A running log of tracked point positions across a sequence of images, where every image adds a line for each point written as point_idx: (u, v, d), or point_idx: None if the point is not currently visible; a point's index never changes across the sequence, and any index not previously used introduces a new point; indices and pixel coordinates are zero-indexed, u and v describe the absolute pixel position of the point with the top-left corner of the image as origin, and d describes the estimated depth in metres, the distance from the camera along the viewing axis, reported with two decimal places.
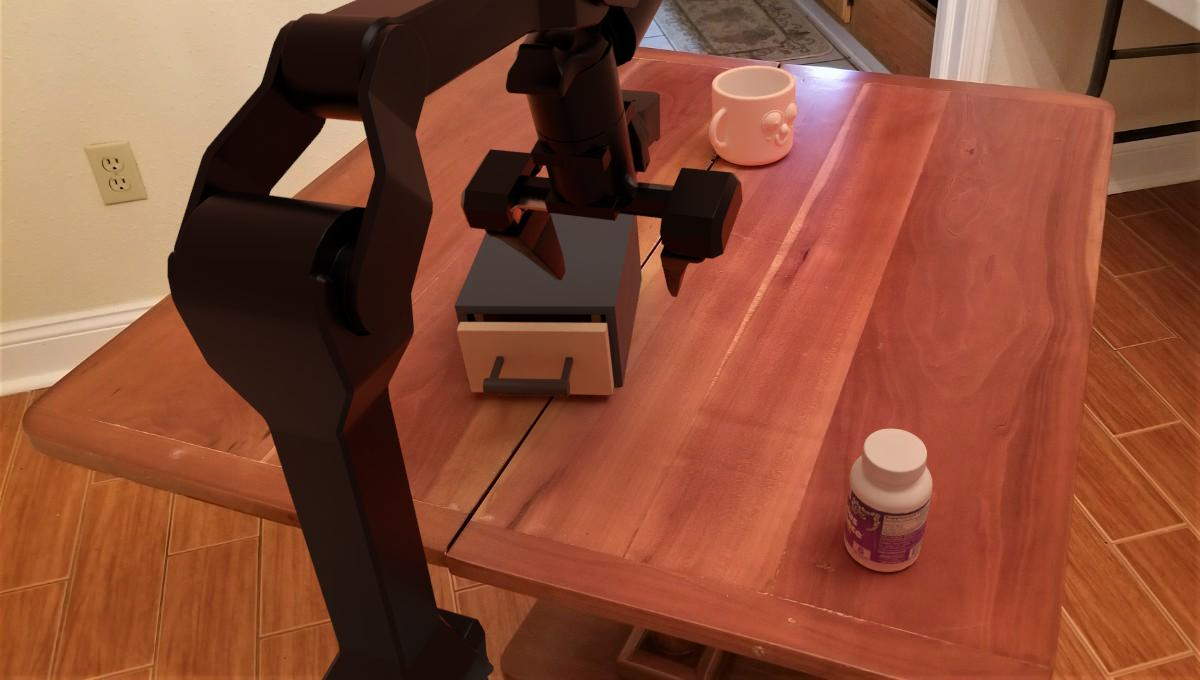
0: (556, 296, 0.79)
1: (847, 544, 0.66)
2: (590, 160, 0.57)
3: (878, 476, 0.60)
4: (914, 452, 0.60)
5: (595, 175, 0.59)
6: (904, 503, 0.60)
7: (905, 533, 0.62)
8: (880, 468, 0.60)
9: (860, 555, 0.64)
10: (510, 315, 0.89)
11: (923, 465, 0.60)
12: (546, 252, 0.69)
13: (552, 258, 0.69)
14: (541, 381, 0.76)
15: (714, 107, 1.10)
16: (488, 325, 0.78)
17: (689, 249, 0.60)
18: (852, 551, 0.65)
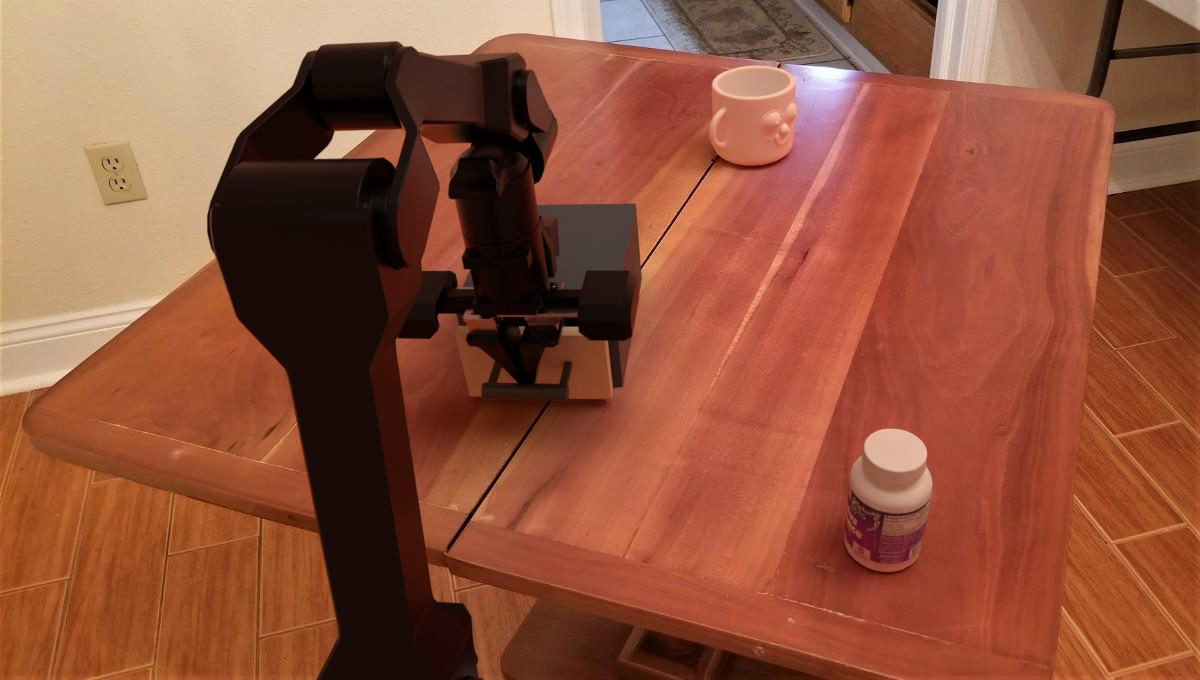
0: None
1: (847, 544, 0.66)
2: (516, 259, 0.66)
3: (878, 476, 0.60)
4: (914, 452, 0.60)
5: (519, 275, 0.68)
6: (904, 503, 0.60)
7: (905, 533, 0.62)
8: (880, 468, 0.60)
9: (860, 555, 0.64)
10: None
11: (923, 465, 0.60)
12: (518, 361, 0.75)
13: (522, 367, 0.76)
14: (540, 385, 0.75)
15: (714, 107, 1.10)
16: None
17: (603, 334, 0.69)
18: (852, 551, 0.65)
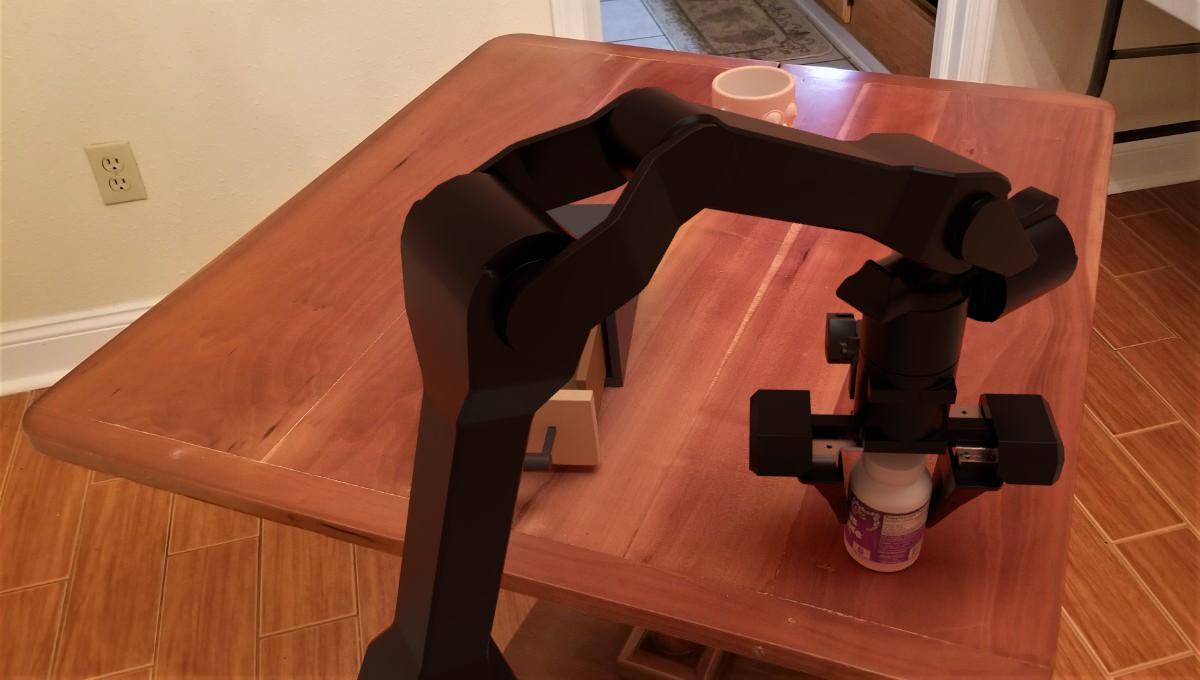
0: None
1: (847, 544, 0.66)
2: (942, 393, 0.54)
3: (878, 476, 0.60)
4: None
5: (935, 409, 0.55)
6: (904, 502, 0.60)
7: (904, 533, 0.62)
8: (880, 468, 0.60)
9: (860, 555, 0.64)
10: None
11: (923, 465, 0.60)
12: None
13: None
14: None
15: (714, 107, 1.10)
16: None
17: (1027, 478, 0.57)
18: (852, 551, 0.65)
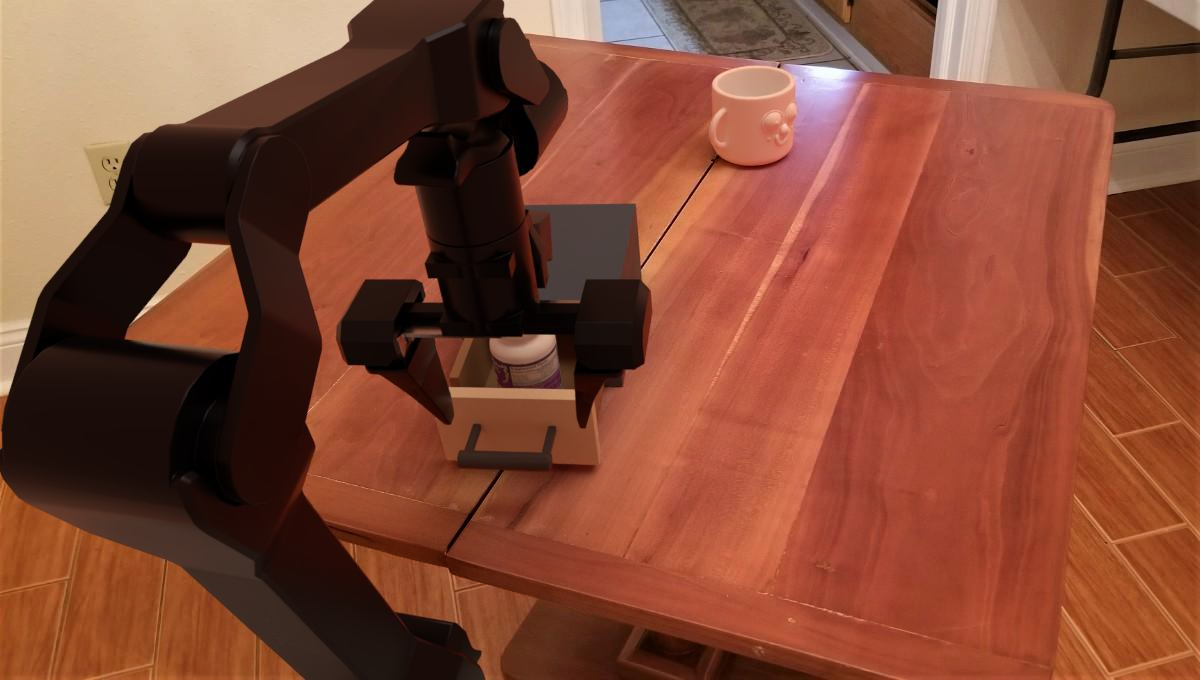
0: (556, 296, 0.79)
1: None
2: (495, 266, 0.51)
3: None
4: None
5: (499, 285, 0.52)
6: (522, 355, 0.72)
7: (531, 383, 0.74)
8: None
9: None
10: (490, 372, 0.83)
11: None
12: (434, 391, 0.60)
13: (441, 398, 0.61)
14: (520, 455, 0.69)
15: (714, 107, 1.10)
16: (464, 391, 0.72)
17: (607, 361, 0.54)
18: None
